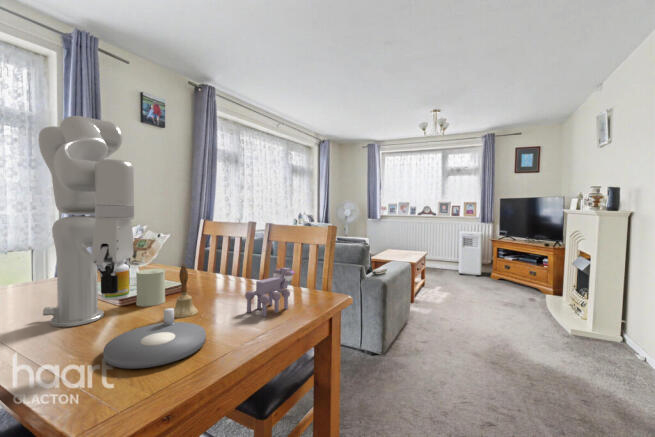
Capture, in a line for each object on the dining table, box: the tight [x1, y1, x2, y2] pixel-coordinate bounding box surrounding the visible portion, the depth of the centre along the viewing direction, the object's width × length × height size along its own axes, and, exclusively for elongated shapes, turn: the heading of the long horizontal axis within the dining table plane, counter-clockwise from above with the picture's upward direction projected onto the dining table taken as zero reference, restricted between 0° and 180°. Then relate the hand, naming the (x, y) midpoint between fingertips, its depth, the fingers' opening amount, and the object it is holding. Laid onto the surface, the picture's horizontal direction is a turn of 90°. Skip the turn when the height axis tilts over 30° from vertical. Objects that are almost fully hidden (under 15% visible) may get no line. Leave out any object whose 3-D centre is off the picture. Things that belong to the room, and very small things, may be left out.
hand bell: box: [174, 264, 199, 319], centre depth 101 cm, size 8×8×16 cm
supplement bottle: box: [101, 259, 130, 301], centre depth 72 cm, size 5×5×10 cm
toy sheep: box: [244, 267, 296, 318], centre depth 108 cm, size 20×11×14 cm, turn 143°
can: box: [135, 268, 166, 308], centre depth 111 cm, size 9×9×12 cm
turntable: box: [103, 307, 207, 369], centre depth 76 cm, size 22×22×6 cm
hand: (116, 288), depth 72 cm, fingers closed on supplement bottle, 5 cm apart
